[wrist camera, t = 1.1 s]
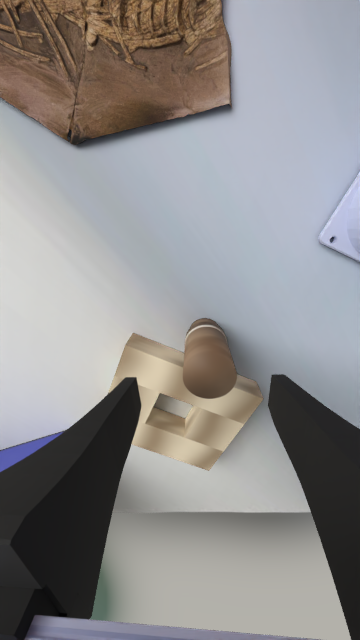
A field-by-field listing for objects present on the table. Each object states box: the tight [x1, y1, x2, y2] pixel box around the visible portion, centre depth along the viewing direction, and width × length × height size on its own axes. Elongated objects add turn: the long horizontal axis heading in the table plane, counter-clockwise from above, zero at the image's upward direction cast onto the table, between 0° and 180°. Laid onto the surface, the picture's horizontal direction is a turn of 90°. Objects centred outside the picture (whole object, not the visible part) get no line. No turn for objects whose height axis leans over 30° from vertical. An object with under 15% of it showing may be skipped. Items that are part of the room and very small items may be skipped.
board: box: [108, 333, 263, 471], centre depth 22 cm, size 14×12×2 cm
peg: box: [183, 318, 237, 399], centre depth 17 cm, size 4×4×7 cm
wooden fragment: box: [0, 0, 232, 145], centre depth 13 cm, size 26×11×1 cm, turn 73°
